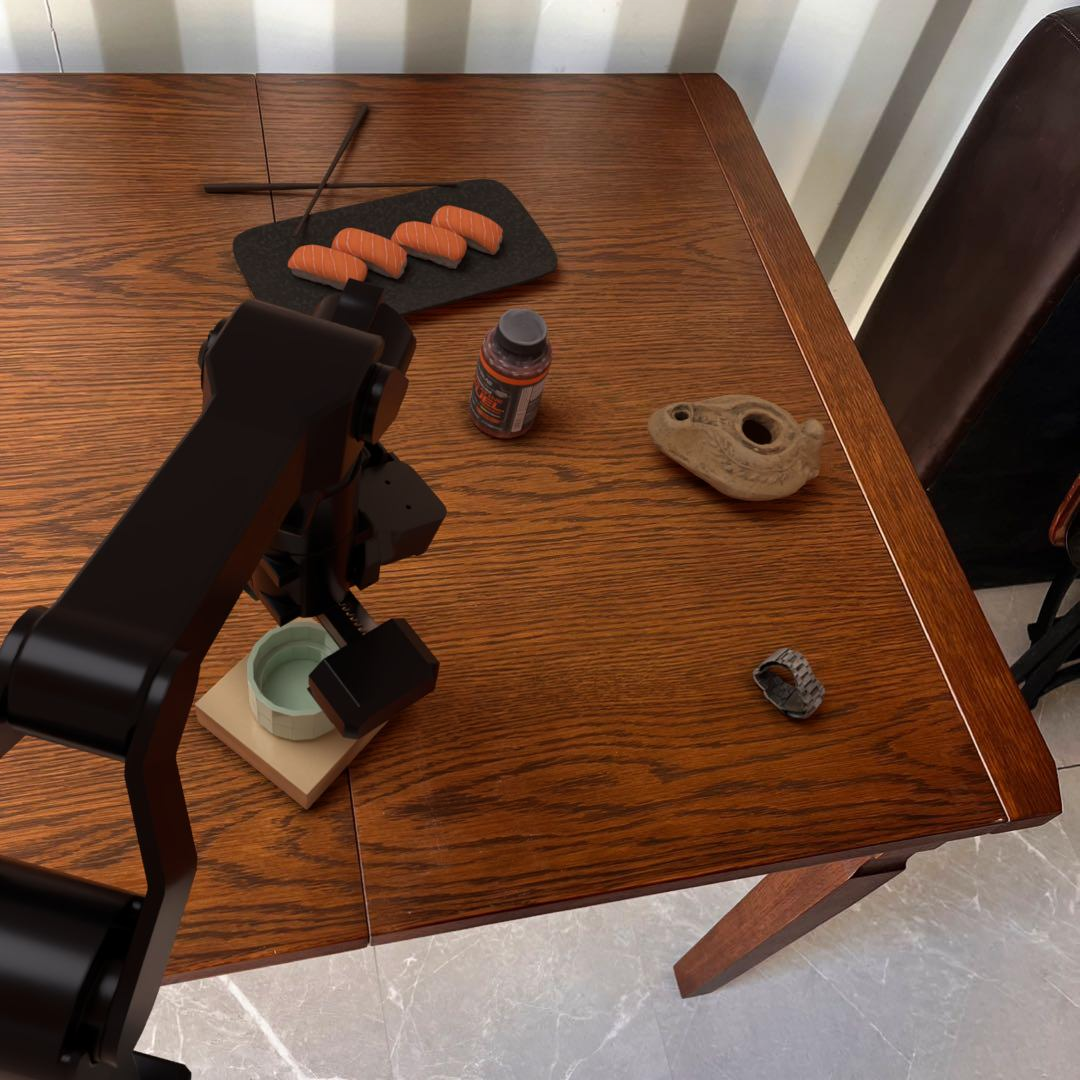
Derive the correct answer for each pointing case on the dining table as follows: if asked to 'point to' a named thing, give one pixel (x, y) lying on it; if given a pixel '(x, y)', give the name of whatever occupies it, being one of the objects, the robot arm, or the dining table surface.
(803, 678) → the wristwatch
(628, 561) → the dining table surface
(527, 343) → the supplement bottle
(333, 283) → the sushi plate
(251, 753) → the plate
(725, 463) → the oil lamp
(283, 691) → the bowl
